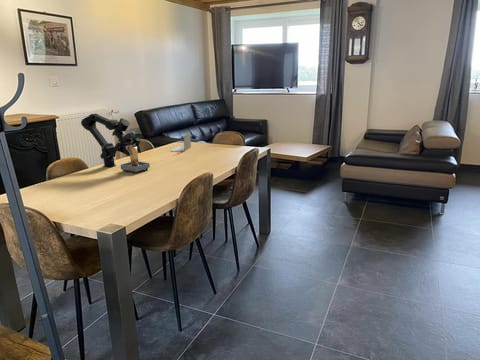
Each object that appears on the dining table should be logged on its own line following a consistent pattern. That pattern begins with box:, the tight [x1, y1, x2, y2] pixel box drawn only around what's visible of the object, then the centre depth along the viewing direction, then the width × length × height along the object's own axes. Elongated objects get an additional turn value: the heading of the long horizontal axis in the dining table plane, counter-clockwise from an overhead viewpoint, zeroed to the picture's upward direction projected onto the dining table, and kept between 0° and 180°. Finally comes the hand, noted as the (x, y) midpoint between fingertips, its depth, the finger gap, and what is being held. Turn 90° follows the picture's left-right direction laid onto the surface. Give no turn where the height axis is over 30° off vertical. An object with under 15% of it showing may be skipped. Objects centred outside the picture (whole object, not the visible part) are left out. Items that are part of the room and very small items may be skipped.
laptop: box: [170, 132, 192, 153], centre depth 301 cm, size 18×12×13 cm
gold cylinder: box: [128, 146, 140, 167], centre depth 236 cm, size 5×5×12 cm
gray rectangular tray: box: [119, 161, 151, 174], centre depth 238 cm, size 14×12×4 cm
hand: (135, 154), depth 234 cm, fingers open, 9 cm apart
